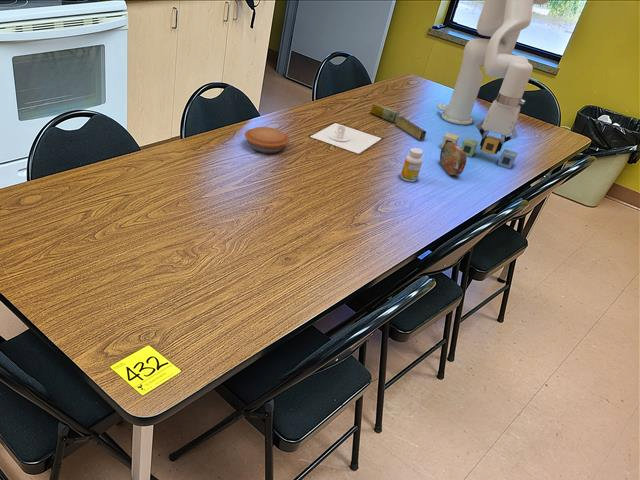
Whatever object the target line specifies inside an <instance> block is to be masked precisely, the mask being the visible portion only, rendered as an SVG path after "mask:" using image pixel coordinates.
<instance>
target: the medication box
mask: <svg viewBox="0 0 640 480" xmlns="http://www.w3.org/2000/svg"><path fill="white" fill-rule="evenodd" d="M370 114H373V115H375V116H377V117H380V118H381V119H384V120H385V121H388V122H391V123H392V124H396V123H397V119H398V117H400V114H401V112H399V111H398V110H394V109H392V108H389V107H387V106H384V105H383V104H380V103H378V102H374V103H373V104H372V108H371V109H370Z"/></svg>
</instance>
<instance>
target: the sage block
mask: <svg viewBox="0 0 640 480" xmlns="http://www.w3.org/2000/svg"><path fill="white" fill-rule="evenodd" d="M478 144H479V140H475V139H472V138H468V137H465V139H463V141H462V143H461V146H460V148H461V149H462V150H463V151H464V152H465V154H466V157H470V158H472V157H473V155H475V153H476V150H477V147H478Z"/></svg>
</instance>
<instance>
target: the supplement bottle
mask: <svg viewBox="0 0 640 480" xmlns="http://www.w3.org/2000/svg"><path fill="white" fill-rule="evenodd" d="M423 153H424V151H423V149H421V148H416V147H413V148H410V151H409V154H407V155H406V156H405V159H404V162H403V166H402V169H401V173H400V178H401V179H402V180H404V181H405V182H411V183H412V182H416V181H417V180H418V177H419V174H420V170H421V168H422V164H423Z"/></svg>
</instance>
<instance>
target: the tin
mask: <svg viewBox="0 0 640 480" xmlns="http://www.w3.org/2000/svg"><path fill="white" fill-rule="evenodd" d="M467 157H468V156H466V154H465V152H464V151H463V150H462V149H461V146H459V145H458V143H457V144H456V143H451V142H447V143H445V145H444V146H443V148H441V150H440V154H439V163H440V165H441V167H442V168H443V169H444V171H446V173H447V174H448V175H449V176H460V175H461V174H462V173H463V172H464V170H465V168H466V164H467Z"/></svg>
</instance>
